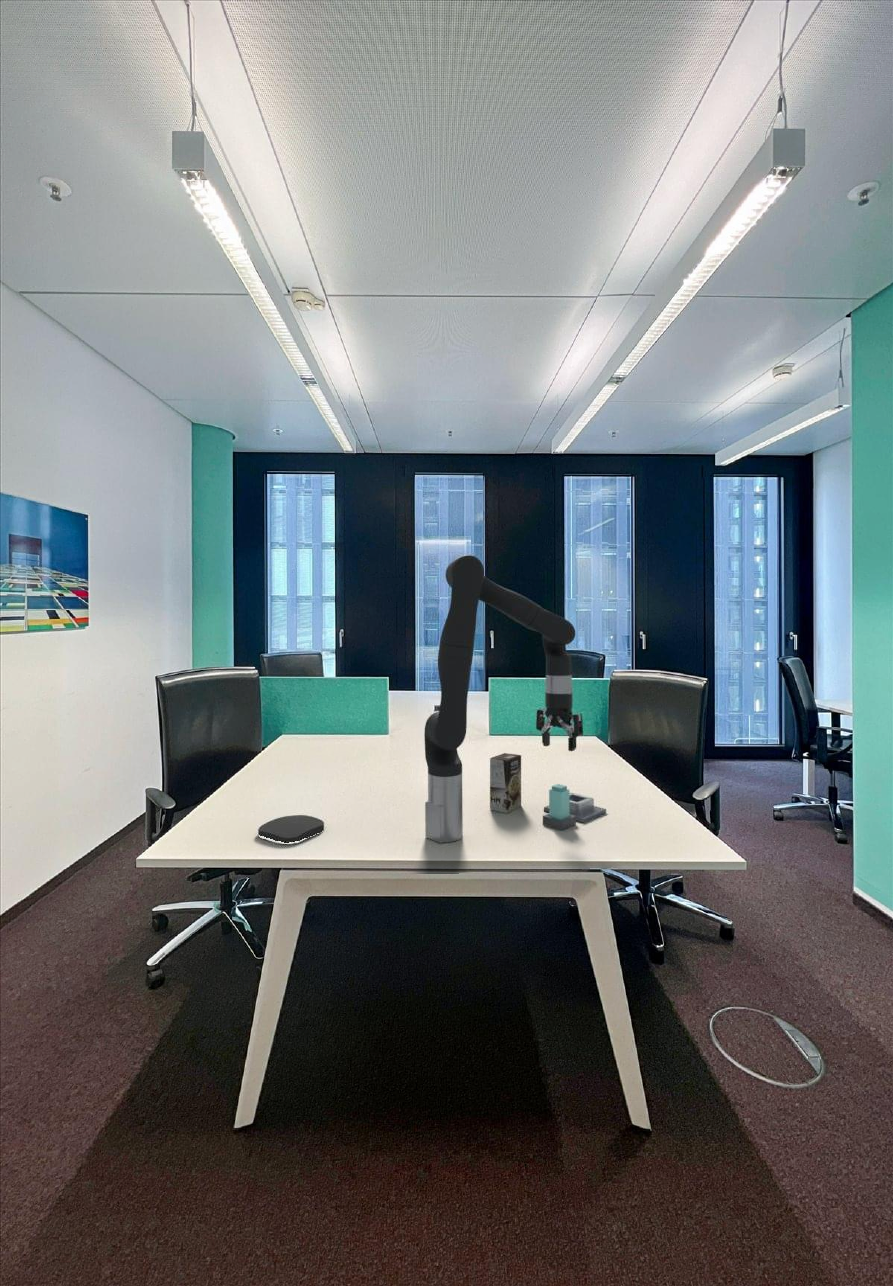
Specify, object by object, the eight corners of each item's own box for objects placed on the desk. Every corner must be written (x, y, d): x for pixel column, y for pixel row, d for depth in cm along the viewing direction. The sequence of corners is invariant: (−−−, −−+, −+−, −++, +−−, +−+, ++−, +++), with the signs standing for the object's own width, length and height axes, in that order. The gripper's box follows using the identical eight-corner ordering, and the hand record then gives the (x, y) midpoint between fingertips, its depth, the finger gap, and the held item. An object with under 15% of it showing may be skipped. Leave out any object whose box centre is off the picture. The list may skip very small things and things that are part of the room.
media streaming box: (290, 849, 138) (289, 837, 138) (251, 837, 145) (251, 826, 145) (330, 830, 150) (330, 819, 150) (293, 821, 158) (293, 811, 158)
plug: (561, 828, 149) (560, 789, 149) (549, 824, 152) (549, 786, 152) (569, 824, 152) (569, 786, 152) (557, 821, 155) (557, 783, 155)
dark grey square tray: (562, 830, 148) (562, 821, 148) (542, 824, 153) (542, 815, 152) (576, 824, 152) (575, 816, 152) (556, 818, 157) (556, 810, 157)
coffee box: (507, 814, 162) (507, 760, 161) (489, 809, 165) (488, 757, 165) (522, 805, 169) (522, 754, 168) (504, 802, 173) (504, 752, 172)
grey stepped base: (583, 823, 153) (583, 808, 153) (543, 811, 164) (543, 797, 164) (606, 813, 161) (606, 799, 161) (567, 802, 172) (567, 789, 172)
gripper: (530, 690, 154) (530, 746, 155) (572, 694, 144) (572, 754, 144) (546, 688, 159) (546, 742, 160) (588, 691, 149) (588, 750, 149)
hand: (558, 748), depth 152 cm, fingers open, 8 cm apart
